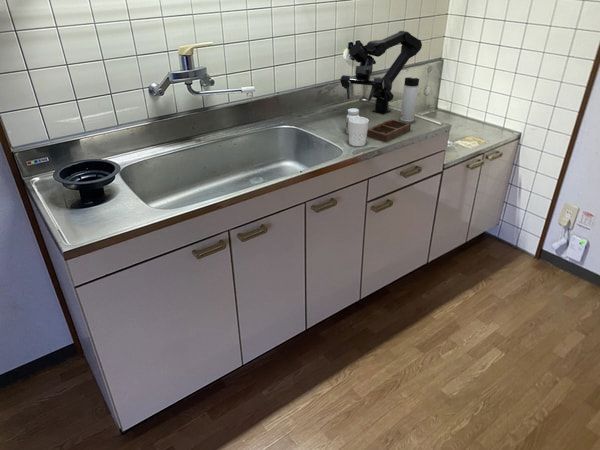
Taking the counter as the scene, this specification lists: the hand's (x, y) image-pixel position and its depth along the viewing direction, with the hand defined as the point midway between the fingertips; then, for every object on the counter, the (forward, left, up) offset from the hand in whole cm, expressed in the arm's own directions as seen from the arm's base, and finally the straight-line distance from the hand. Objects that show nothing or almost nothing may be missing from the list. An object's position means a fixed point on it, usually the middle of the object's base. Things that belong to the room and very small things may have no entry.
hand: (358, 99), depth 202 cm
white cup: (+17, +13, -12) cm, 25 cm away
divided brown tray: (-1, +16, -12) cm, 20 cm away
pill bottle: (+8, +4, -12) cm, 15 cm away
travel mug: (-20, +13, -12) cm, 27 cm away
